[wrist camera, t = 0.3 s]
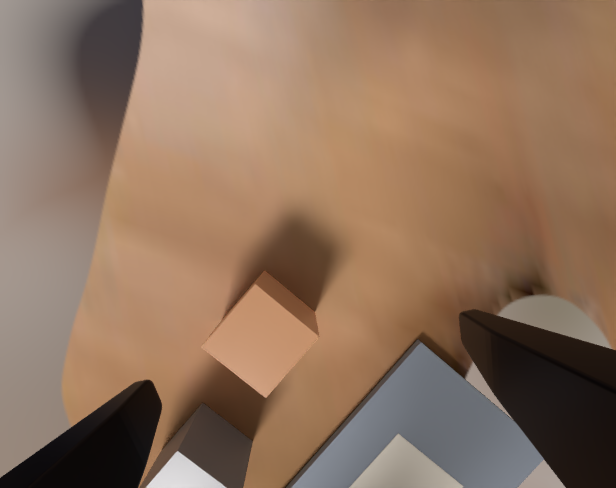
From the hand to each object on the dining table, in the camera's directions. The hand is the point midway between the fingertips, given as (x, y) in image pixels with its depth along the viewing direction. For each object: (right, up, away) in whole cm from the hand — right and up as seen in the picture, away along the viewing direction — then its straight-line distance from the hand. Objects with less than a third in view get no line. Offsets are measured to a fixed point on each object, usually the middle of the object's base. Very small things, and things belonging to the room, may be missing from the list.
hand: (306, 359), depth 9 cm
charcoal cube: (-8, -12, +15) cm, 21 cm away
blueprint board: (+7, -16, +16) cm, 24 cm away
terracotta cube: (-3, -2, +14) cm, 15 cm away
